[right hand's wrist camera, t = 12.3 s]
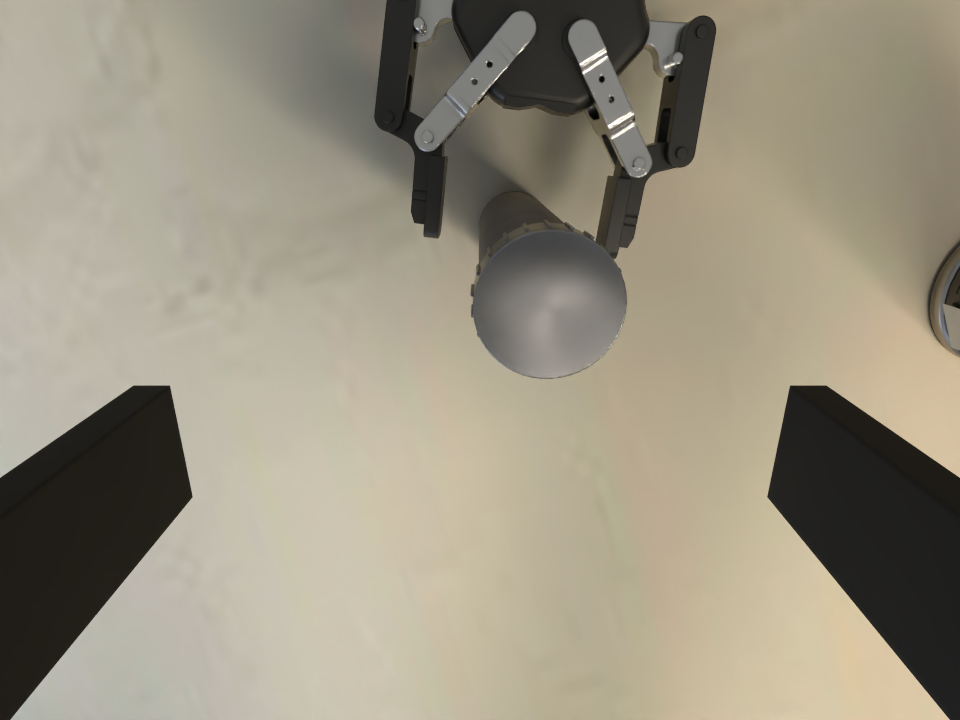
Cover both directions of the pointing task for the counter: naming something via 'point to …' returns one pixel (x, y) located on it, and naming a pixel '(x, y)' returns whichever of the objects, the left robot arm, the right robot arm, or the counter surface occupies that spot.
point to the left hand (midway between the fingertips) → (518, 245)
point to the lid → (548, 300)
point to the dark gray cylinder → (510, 217)
